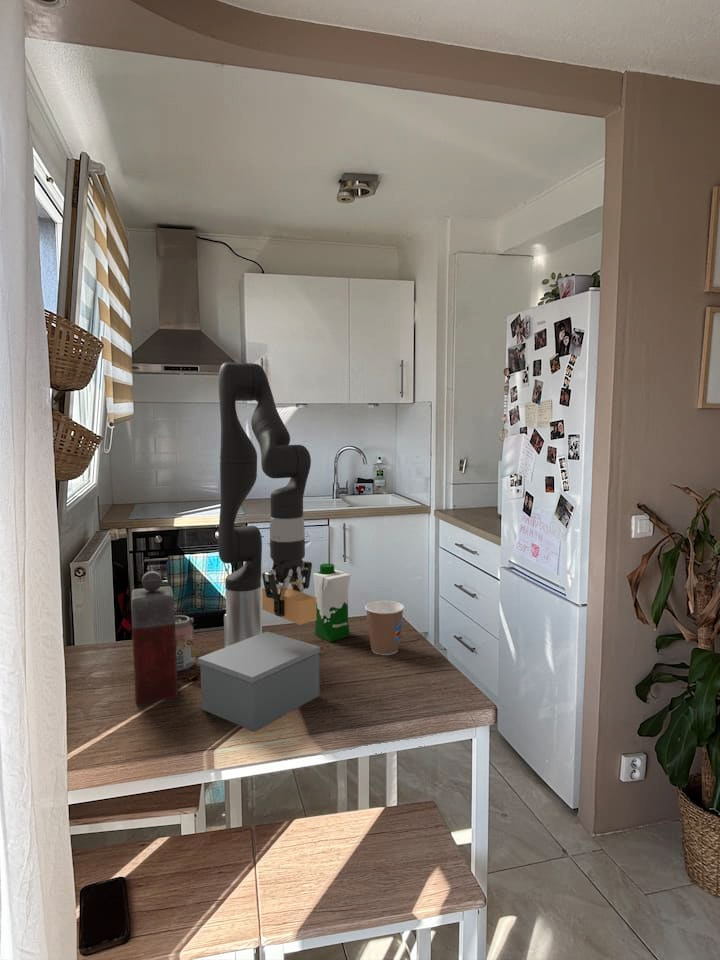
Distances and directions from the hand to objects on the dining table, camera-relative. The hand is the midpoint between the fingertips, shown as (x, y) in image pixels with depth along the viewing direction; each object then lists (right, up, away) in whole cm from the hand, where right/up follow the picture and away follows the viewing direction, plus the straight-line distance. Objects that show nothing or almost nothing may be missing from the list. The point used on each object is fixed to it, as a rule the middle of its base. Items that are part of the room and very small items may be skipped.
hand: (288, 612), depth 144 cm
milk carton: (+8, -15, +40) cm, 43 cm away
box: (-6, -20, -1) cm, 20 cm away
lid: (-6, -9, -2) cm, 11 cm away
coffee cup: (+22, -16, +29) cm, 40 cm away
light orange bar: (0, -1, 0) cm, 1 cm away
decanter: (-31, -19, +6) cm, 37 cm away
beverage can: (-30, -18, +20) cm, 40 cm away
